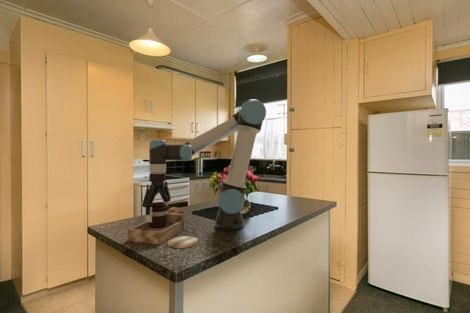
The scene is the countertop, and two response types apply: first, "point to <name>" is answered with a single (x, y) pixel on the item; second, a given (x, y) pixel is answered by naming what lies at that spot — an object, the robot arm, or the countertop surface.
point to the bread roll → (175, 210)
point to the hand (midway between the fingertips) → (157, 218)
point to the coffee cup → (158, 216)
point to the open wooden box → (155, 237)
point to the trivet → (182, 242)
